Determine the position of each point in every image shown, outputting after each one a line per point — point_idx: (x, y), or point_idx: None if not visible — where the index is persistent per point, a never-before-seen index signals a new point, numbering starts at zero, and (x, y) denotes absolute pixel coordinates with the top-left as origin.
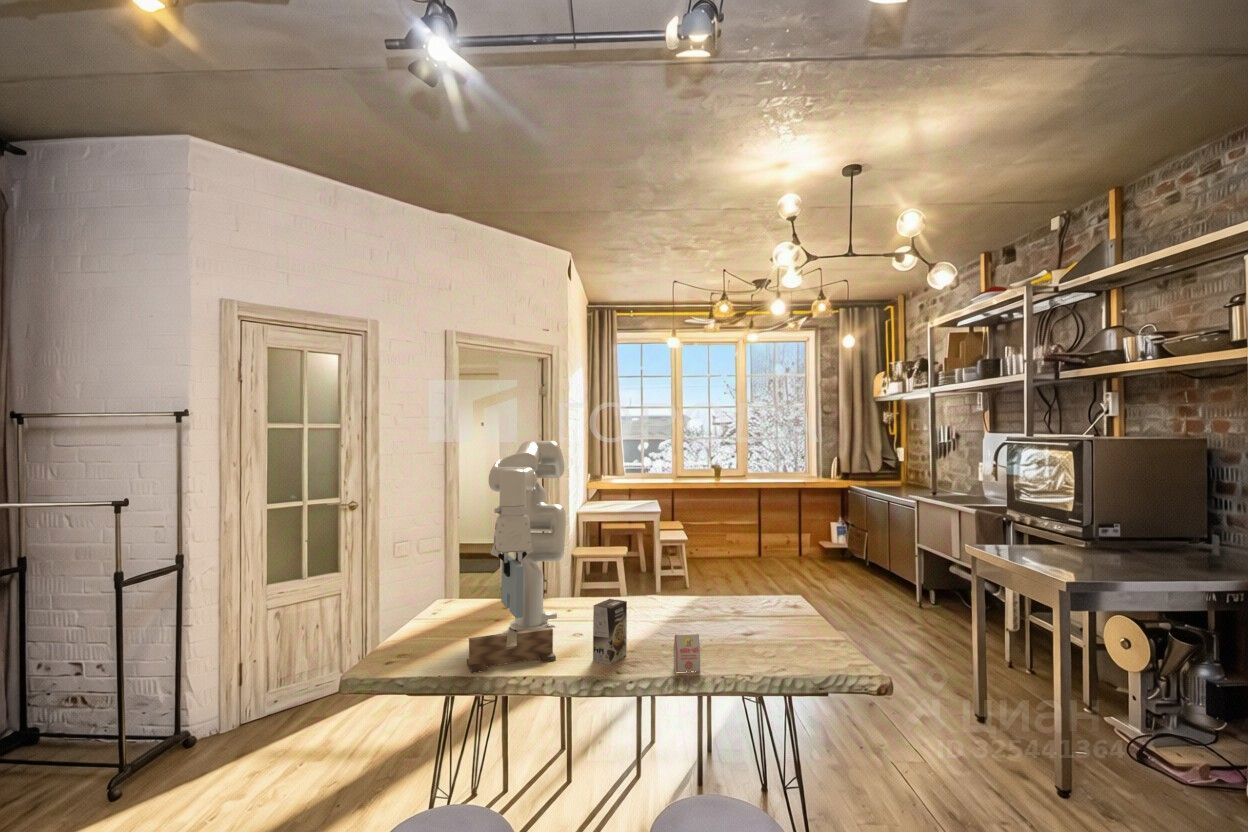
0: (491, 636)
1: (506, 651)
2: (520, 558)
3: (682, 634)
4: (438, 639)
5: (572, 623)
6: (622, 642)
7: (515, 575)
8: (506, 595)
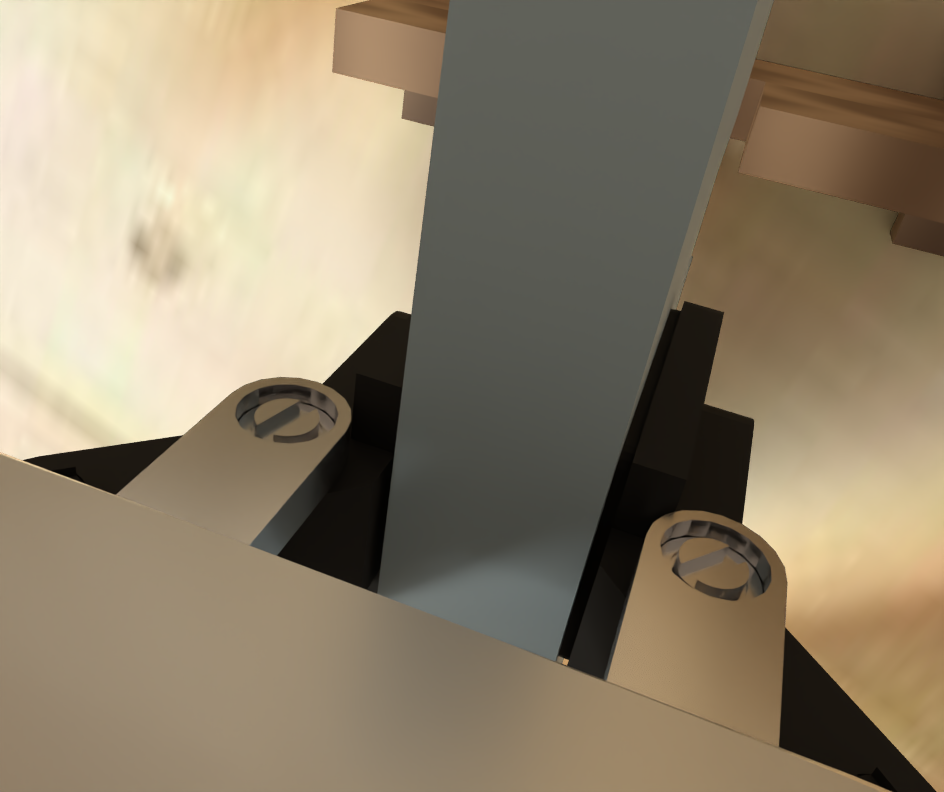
0: (896, 168)
1: (768, 78)
2: (253, 445)
3: None
4: (873, 706)
5: (135, 420)
6: None
7: None
8: None
